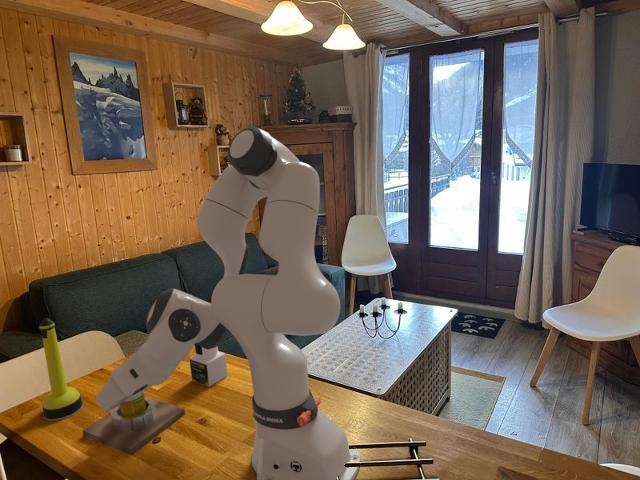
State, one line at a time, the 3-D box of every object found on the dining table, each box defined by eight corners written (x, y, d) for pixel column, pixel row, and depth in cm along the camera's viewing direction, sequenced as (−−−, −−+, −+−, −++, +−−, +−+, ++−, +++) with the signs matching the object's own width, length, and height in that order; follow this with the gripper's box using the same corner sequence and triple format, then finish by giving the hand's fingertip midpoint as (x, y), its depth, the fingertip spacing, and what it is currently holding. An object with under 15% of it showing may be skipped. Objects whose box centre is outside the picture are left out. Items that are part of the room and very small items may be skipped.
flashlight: (60, 322, 107) (70, 309, 115) (18, 327, 105) (31, 314, 113) (78, 416, 112) (86, 397, 120) (38, 423, 110) (49, 403, 118)
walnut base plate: (185, 414, 110) (184, 408, 110) (131, 455, 97) (130, 448, 96) (139, 400, 118) (138, 395, 117) (83, 436, 104) (82, 430, 104)
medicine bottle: (191, 381, 126) (186, 341, 124) (210, 370, 132) (206, 331, 129) (208, 387, 122) (204, 346, 120) (228, 376, 128) (224, 336, 125)
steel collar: (164, 413, 109) (162, 401, 108) (132, 436, 101) (130, 424, 100) (137, 404, 113) (135, 393, 112) (104, 425, 105) (102, 414, 104)
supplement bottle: (138, 427, 104) (132, 389, 102) (117, 425, 105) (111, 387, 103) (151, 413, 109) (145, 376, 107) (131, 411, 110) (125, 375, 108)
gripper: (179, 334, 109) (155, 364, 115) (105, 374, 91) (82, 406, 98) (195, 354, 108) (170, 383, 114) (123, 398, 90) (99, 430, 97)
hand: (129, 394), depth 106 cm, fingers open, 8 cm apart
